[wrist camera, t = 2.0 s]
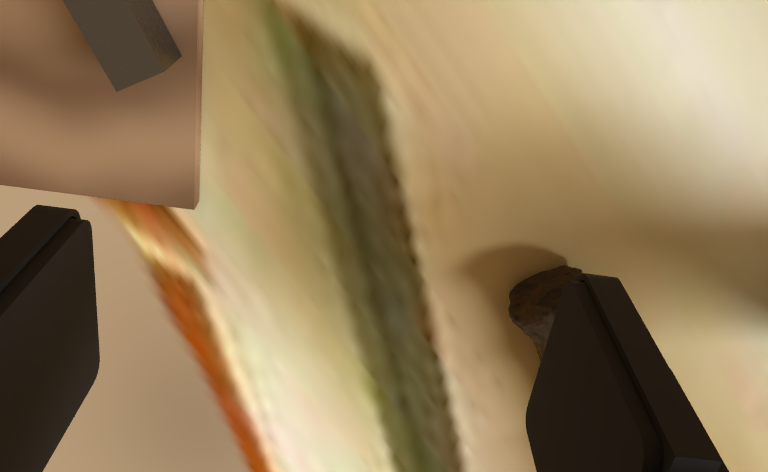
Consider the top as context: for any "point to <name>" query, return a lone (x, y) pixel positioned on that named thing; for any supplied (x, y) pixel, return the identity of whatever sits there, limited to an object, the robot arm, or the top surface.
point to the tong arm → (125, 38)
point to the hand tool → (539, 303)
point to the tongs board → (98, 110)
